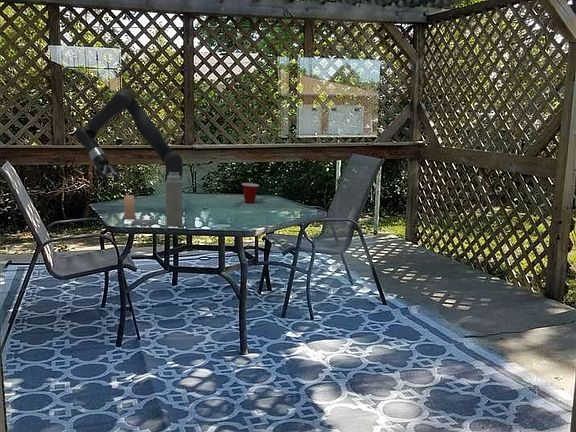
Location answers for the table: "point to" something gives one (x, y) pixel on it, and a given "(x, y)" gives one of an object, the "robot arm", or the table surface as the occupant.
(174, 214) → the thermos bottle
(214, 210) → the table surface
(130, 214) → the tan tapered cylinder
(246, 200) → the plastic cup
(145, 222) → the coaster
